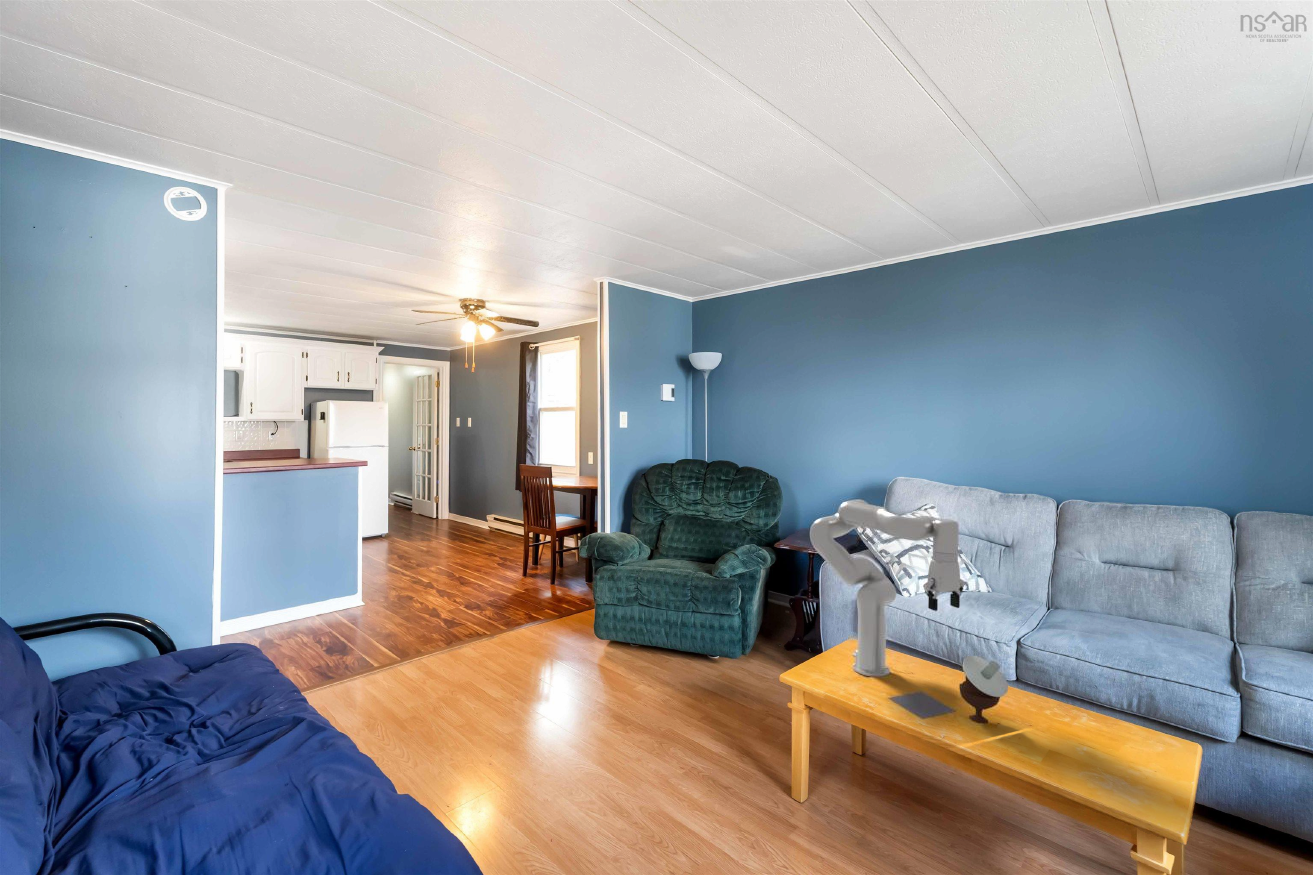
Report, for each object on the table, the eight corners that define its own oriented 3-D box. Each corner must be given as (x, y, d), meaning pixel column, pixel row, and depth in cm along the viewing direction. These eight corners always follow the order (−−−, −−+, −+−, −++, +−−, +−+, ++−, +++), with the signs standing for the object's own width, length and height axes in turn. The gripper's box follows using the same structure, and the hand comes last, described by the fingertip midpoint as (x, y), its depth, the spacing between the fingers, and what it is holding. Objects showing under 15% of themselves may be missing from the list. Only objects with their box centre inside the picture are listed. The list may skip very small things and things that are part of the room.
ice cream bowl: (958, 724, 171) (959, 674, 171) (958, 708, 181) (959, 661, 181) (1000, 734, 166) (1001, 682, 166) (997, 717, 176) (999, 668, 176)
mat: (887, 699, 186) (887, 697, 186) (921, 693, 192) (921, 691, 192) (922, 720, 173) (922, 718, 173) (956, 712, 179) (956, 710, 178)
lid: (953, 659, 175) (963, 647, 172) (984, 655, 179) (995, 644, 176) (984, 699, 165) (995, 687, 162) (1016, 694, 169) (1027, 682, 166)
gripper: (955, 552, 198) (953, 602, 198) (916, 556, 192) (915, 607, 192) (974, 557, 191) (972, 608, 191) (934, 561, 185) (933, 614, 185)
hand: (943, 608), depth 192 cm, fingers open, 9 cm apart
